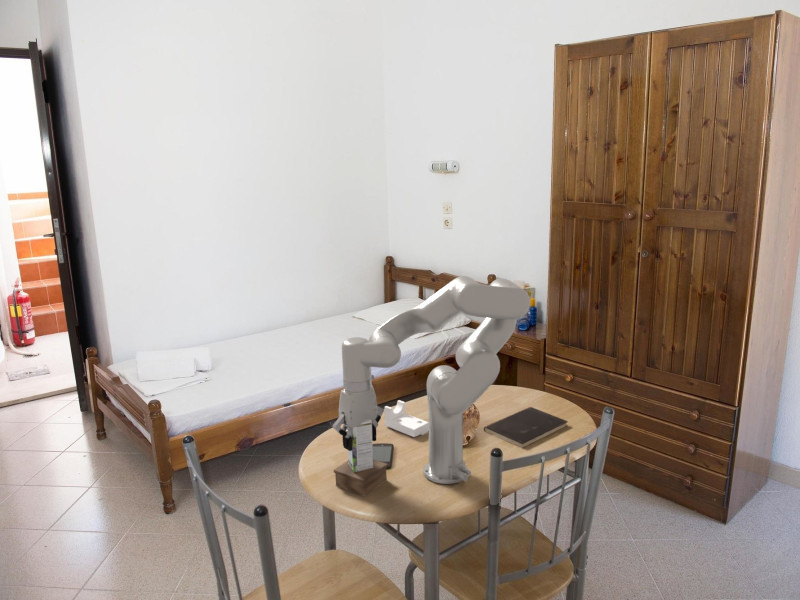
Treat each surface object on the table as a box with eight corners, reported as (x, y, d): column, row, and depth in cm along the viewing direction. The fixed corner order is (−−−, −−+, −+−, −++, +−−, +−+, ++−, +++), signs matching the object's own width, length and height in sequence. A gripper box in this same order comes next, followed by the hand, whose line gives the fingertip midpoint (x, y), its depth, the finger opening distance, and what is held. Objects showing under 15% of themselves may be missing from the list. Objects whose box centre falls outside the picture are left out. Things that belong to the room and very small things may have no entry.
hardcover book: (567, 427, 207) (568, 421, 206) (522, 450, 193) (522, 443, 192) (528, 412, 219) (529, 406, 218) (483, 432, 205) (483, 425, 204)
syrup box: (347, 463, 176) (344, 415, 172) (367, 458, 178) (365, 411, 175) (354, 473, 171) (351, 424, 167) (374, 468, 173) (372, 419, 169)
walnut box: (388, 480, 177) (387, 464, 175) (364, 498, 168) (363, 480, 167) (358, 470, 183) (357, 454, 181) (334, 486, 174) (333, 469, 173)
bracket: (385, 427, 209) (384, 406, 207) (399, 420, 214) (399, 400, 212) (414, 440, 200) (413, 418, 198) (428, 432, 205) (428, 410, 203)
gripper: (374, 372, 176) (376, 429, 181) (322, 388, 165) (325, 449, 170) (391, 379, 171) (393, 438, 175) (338, 396, 160) (341, 459, 164)
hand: (360, 443), depth 172 cm, fingers open, 7 cm apart
